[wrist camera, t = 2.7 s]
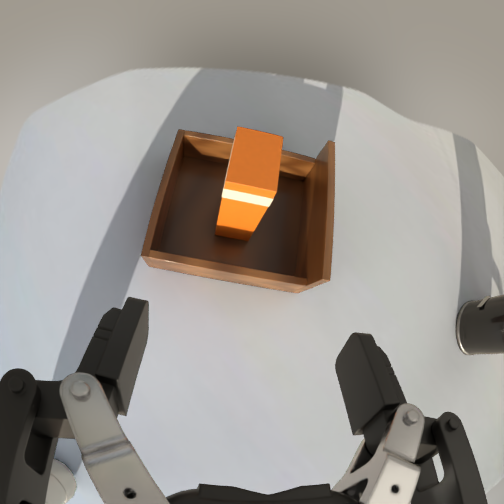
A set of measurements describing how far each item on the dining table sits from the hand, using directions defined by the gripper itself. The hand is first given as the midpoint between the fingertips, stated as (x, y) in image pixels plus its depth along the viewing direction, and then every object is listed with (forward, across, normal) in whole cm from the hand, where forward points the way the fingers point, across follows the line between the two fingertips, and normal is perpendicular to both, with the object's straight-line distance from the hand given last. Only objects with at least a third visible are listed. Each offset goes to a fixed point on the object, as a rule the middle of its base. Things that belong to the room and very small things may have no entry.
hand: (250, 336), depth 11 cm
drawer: (+25, 0, +6) cm, 26 cm away
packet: (+25, 0, +6) cm, 25 cm away
